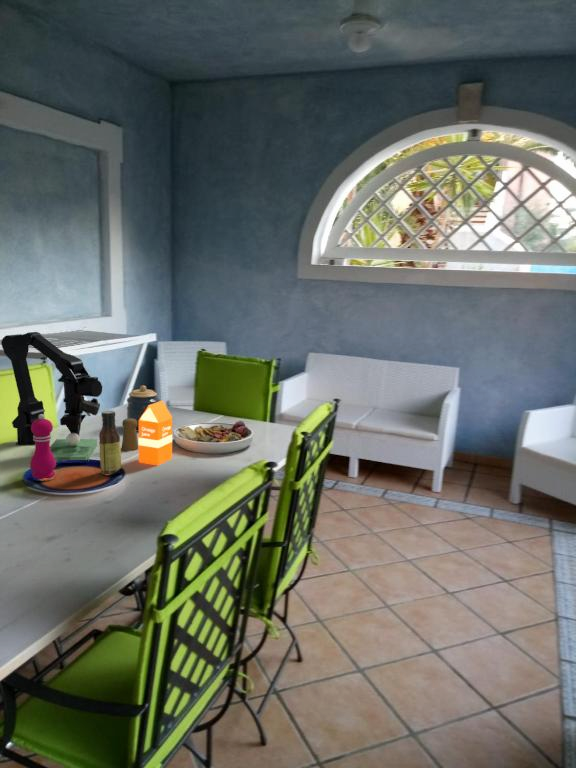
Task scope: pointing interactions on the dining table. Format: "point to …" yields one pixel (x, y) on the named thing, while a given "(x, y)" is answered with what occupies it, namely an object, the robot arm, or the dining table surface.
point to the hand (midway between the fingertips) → (76, 437)
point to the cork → (129, 435)
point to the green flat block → (73, 449)
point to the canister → (140, 403)
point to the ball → (73, 439)
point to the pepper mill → (42, 449)
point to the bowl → (213, 437)
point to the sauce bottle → (109, 444)
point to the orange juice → (155, 435)
